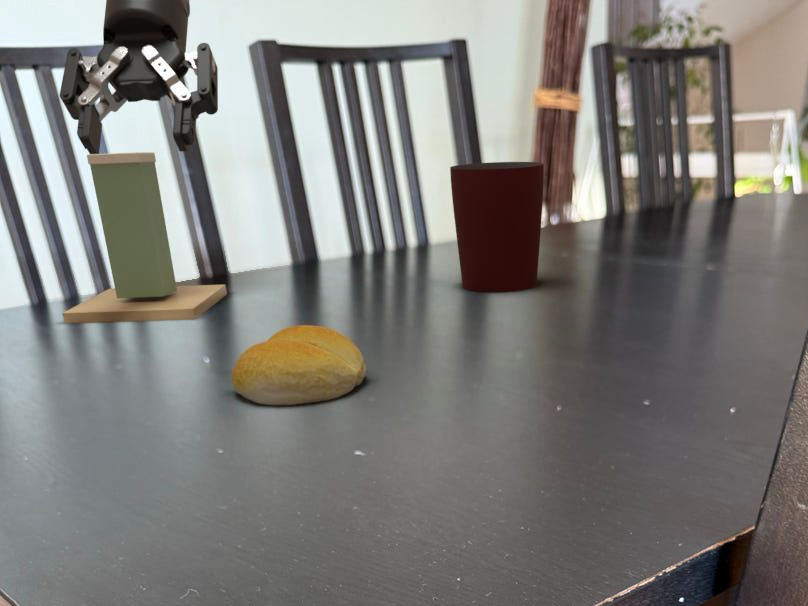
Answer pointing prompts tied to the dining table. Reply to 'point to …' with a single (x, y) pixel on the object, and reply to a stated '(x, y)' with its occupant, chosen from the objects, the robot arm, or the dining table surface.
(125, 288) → the post
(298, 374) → the bread roll
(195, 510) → the dining table surface
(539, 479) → the dining table surface
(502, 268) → the mug
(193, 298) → the post base
